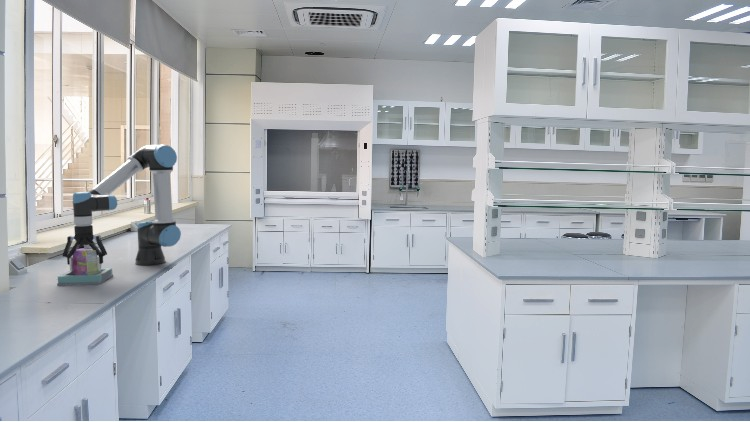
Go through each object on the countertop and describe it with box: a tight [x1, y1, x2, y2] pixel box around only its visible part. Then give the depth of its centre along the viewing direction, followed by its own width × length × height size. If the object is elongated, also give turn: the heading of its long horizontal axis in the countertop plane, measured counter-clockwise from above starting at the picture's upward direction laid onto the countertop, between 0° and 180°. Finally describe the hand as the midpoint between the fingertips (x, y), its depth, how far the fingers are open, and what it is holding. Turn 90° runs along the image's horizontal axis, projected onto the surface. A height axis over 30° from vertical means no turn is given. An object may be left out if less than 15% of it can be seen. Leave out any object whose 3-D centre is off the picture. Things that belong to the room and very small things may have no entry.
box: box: [72, 248, 99, 275], centre depth 247 cm, size 10×6×12 cm, turn 62°
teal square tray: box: [56, 267, 114, 287], centre depth 248 cm, size 18×18×4 cm
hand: (85, 270), depth 248 cm, fingers closed on box, 11 cm apart
